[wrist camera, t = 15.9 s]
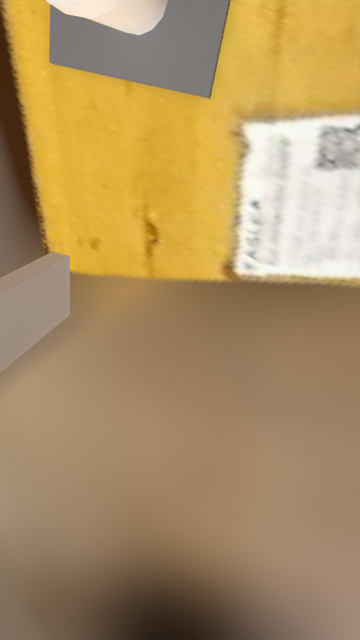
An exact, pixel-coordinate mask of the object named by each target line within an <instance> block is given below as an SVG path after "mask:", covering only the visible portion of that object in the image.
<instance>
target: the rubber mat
mask: <svg viewBox="0 0 360 640" xmlns="http://www.w3.org/2000/svg"><path fill="white" fill-rule="evenodd" d="M229 5H230V0H168V2H167V5H166V8H165V11H164V15H163V17H162V18H161V20H160V21H159V22H158V23H157V25H156V26H155V27H154V28H153V30H150V31H148V32H146V33H143V34H141V35H136V34H131V33H126V32H123V31H120V30H117V29H114V28H112V27H109V26H106V25H104V24H101V23H98V22H95V21H93V20H90V19H87V18H84V17H79V16H73V15H68V14H65V13H63V12H62V11H60V10H59V9H57V8H56V7H54V6H53V5H51V4H50V63H52V64H55V65H60V66H64V67H69V68H73V69H78V70H83V71H87V72H92V73H96V74H101V75H105V76H110V77H114V78H119V79H123V80H128V81H133V82H137V83H142V84H146V85H151V86H155V87H160V88H164V89H169V90H173V91H178V92H183V93H187V94H192V95H196V96H201V97H205V98H210V96H211V91H212V87H213V82H214V77H215V72H216V67H217V63H218V58H219V53H220V48H221V43H222V39H223V34H224V29H225V24H226V19H227V15H228V10H229Z"/></svg>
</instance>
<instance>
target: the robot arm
mask: <svg viewBox="0 0 360 640" xmlns="http://www.w3.org/2000/svg"><path fill="white" fill-rule="evenodd" d="M69 315H70V256H66V255H63V254H59V253H55V252H51V253H49V254H47V255H45V256H43V257H41V258H40V259H37V260H35V261H33V262H31V263H29V264H27V265H25V266H23V267H21V268H19V269H17V270H16V271H13V272H11V273H9V274H7V275H5V276H3V277H1V278H0V372H1V371H3V369H5V368H6V367H7V366H8V365H10V364H11V363H12V362H13V361H14V360H16V359H17V358H18V357H19V356H21V355H22V354H23V353H24V352H26V351H27V350H28V349H29V348H30V347H31V346H33V345H34V344H35V343H36V342H37V341H39V340H40V339H41V338H42V337H44V336H45V335H46V334H47V333H48V332H50V331H51V330H52V329H53V328H55V327H56V326H57V325H58V324H59V323H61V322H62V321H63V320H64V319H65V318H67V317H68V316H69Z"/></svg>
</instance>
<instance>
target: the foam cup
mask: <svg viewBox="0 0 360 640" xmlns="http://www.w3.org/2000/svg"><path fill="white" fill-rule="evenodd" d="M46 1H47V2H48V3H50V4H51V5H53V6H54V7H56V8H57V9H59V10H60V11H62V12H63V13H65V14H68V15H73V16H79V17H84V18H87V19H90V20H93V21H95V22H98V23H101V24H104V25H106V26H109V27H112V28H114V29H117V30H120V31H123V32H126V33H131V34H136V35H141V34H143V33H146V32H148V31H150V30H153V28H154V27H155V26H156V25H157V23H158V22H159V21H160V20H161V18H162V17H163V15H164V11H165V8H166V5H167V2H168V0H46Z"/></svg>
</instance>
